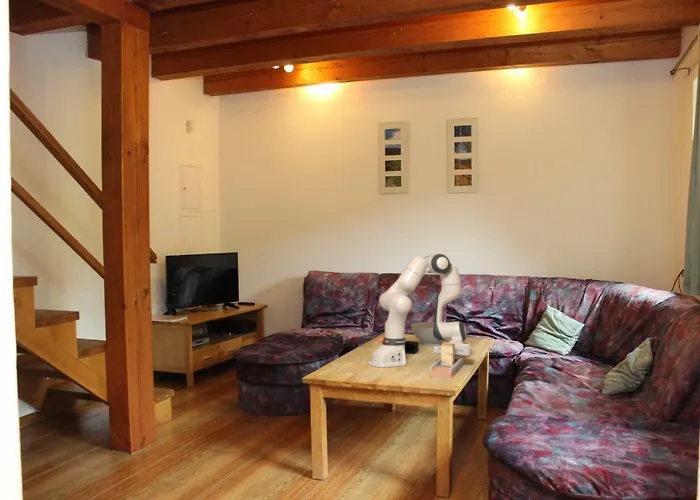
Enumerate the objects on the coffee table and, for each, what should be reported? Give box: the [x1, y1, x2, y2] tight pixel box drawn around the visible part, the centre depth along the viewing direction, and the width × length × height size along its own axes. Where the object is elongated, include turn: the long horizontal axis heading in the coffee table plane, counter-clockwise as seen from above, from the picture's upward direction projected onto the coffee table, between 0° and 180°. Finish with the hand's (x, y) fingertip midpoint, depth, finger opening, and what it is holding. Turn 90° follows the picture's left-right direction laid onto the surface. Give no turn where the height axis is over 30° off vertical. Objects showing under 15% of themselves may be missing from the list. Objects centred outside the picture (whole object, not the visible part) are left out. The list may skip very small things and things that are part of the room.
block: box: [440, 341, 456, 366], centre depth 320 cm, size 6×6×11 cm
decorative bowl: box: [410, 321, 447, 346], centre depth 394 cm, size 27×27×12 cm
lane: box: [429, 356, 464, 379], centre depth 319 cm, size 32×11×4 cm, turn 159°
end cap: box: [405, 340, 420, 355], centre depth 366 cm, size 10×7×7 cm
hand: (449, 352), depth 323 cm, fingers closed
